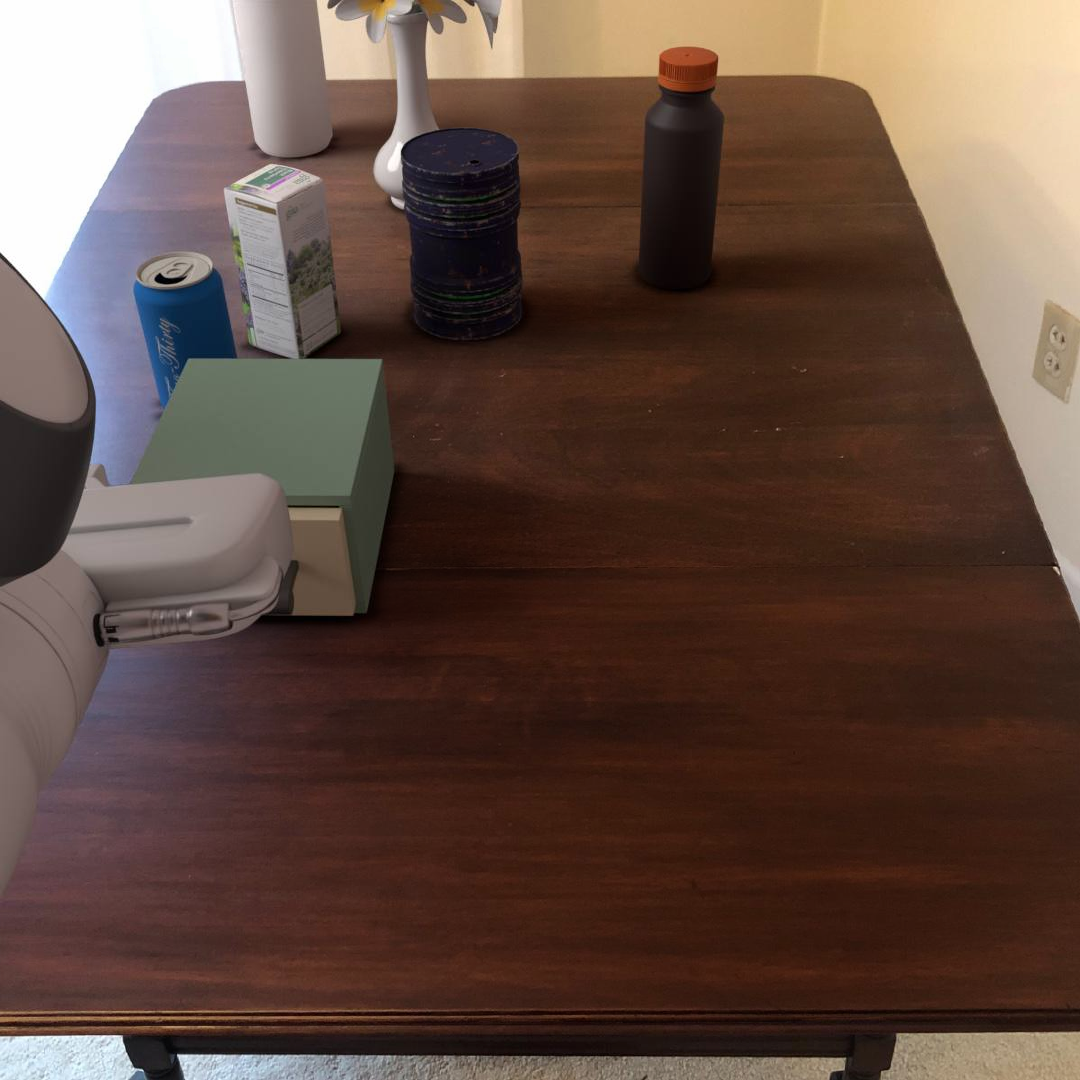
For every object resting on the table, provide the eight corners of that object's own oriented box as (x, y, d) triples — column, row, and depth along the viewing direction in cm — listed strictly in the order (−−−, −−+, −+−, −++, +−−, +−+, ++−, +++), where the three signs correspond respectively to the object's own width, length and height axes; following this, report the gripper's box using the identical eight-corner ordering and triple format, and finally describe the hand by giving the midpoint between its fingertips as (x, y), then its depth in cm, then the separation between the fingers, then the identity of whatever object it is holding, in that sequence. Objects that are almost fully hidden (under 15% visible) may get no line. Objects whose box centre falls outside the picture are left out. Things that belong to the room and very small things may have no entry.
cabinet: (366, 613, 79) (350, 495, 73) (157, 612, 79) (124, 494, 73) (394, 470, 91) (382, 358, 85) (213, 469, 91) (188, 358, 85)
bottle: (630, 286, 113) (639, 65, 100) (647, 253, 118) (658, 39, 105) (702, 296, 111) (721, 72, 98) (717, 262, 116) (736, 46, 103)
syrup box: (291, 317, 109) (267, 159, 99) (344, 334, 106) (324, 174, 97) (248, 346, 105) (219, 184, 96) (302, 364, 103) (277, 200, 93)
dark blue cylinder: (395, 301, 111) (380, 140, 101) (493, 277, 114) (487, 119, 105) (440, 351, 104) (428, 183, 94) (542, 324, 107) (541, 159, 98)
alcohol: (260, 131, 143) (214, -161, 124) (336, 128, 143) (301, -163, 124) (251, 160, 136) (201, -143, 117) (330, 158, 136) (293, -146, 117)
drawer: (343, 664, 74) (328, 566, 69) (140, 662, 74) (110, 565, 69) (381, 479, 88) (371, 387, 84) (211, 478, 89) (191, 387, 84)
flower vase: (522, 218, 124) (517, -47, 108) (339, 231, 122) (307, -37, 106) (507, 168, 134) (500, -82, 118) (337, 179, 132) (307, -74, 116)
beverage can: (148, 422, 96) (112, 284, 88) (185, 379, 101) (155, 245, 93) (224, 432, 95) (194, 294, 87) (258, 388, 100) (233, 253, 92)
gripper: (256, 539, 40) (299, 393, 53) (-374, 597, 40) (-182, 436, 52) (287, 696, 43) (321, 523, 56) (-299, 753, 43) (-134, 566, 55)
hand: (74, 481), depth 54 cm, fingers closed
